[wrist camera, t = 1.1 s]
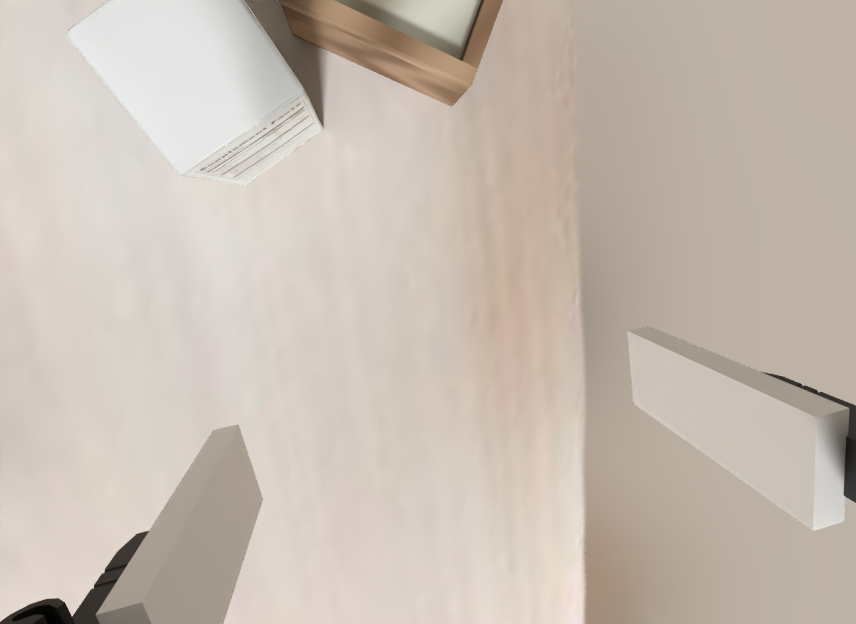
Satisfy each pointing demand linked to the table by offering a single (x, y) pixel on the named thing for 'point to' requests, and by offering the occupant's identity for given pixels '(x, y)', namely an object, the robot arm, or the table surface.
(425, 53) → the brown square open box
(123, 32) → the supplement box
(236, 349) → the table surface
